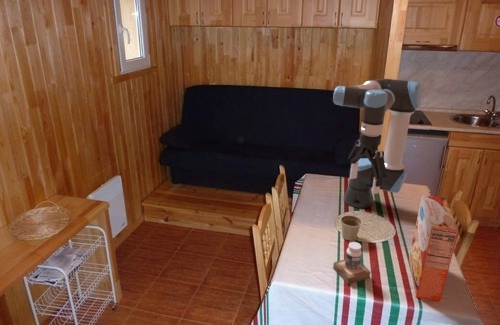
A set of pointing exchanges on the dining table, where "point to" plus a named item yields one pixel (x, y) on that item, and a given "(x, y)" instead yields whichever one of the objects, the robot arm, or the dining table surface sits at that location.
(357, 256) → the pill bottle
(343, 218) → the flower pot
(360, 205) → the robot arm
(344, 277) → the base block
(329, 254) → the dining table surface
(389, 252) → the dining table surface
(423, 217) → the pasta box
